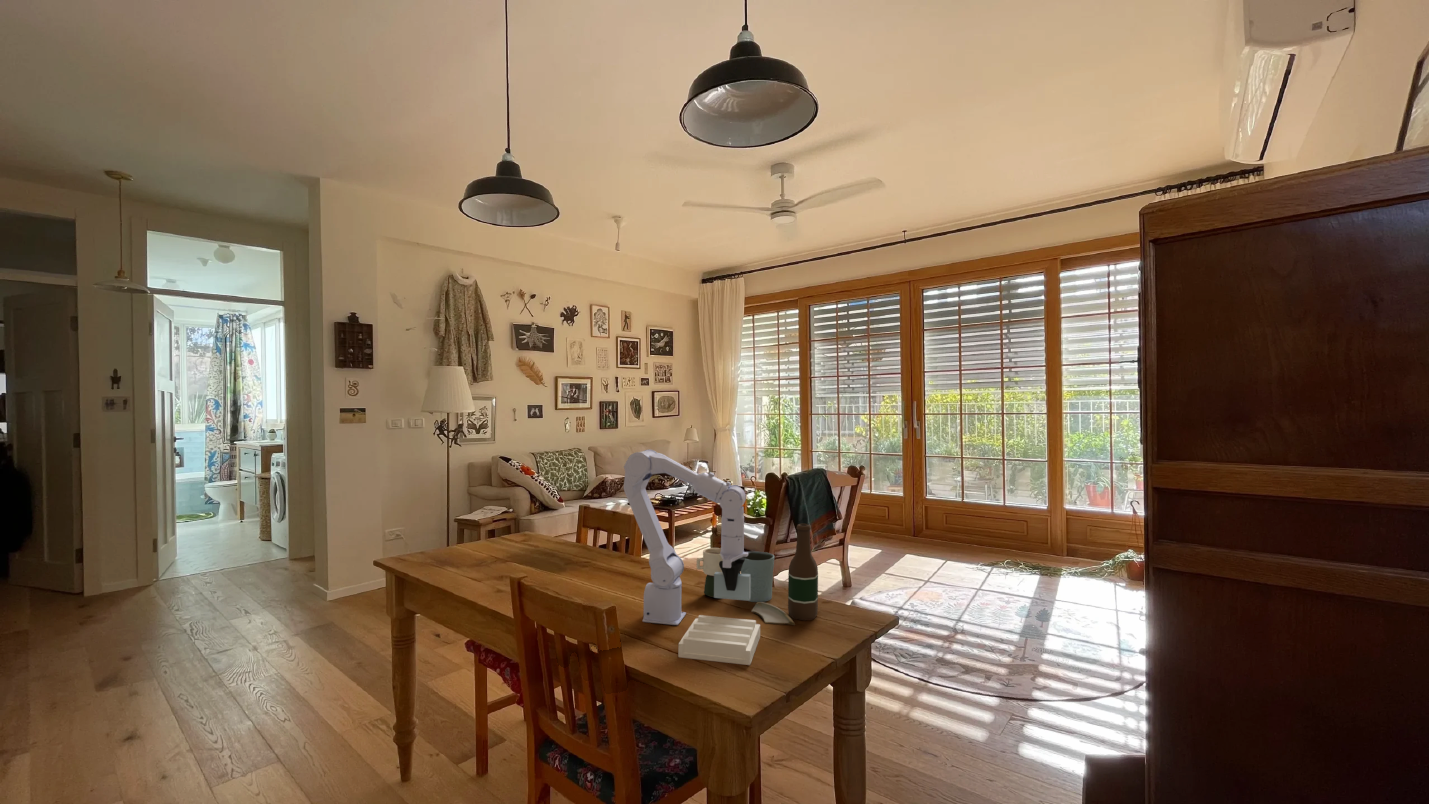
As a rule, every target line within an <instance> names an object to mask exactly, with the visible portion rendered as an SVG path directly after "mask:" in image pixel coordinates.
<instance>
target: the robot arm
mask: <svg viewBox="0 0 1429 804" xmlns="http://www.w3.org/2000/svg"><path fill="white" fill-rule="evenodd" d="M623 468H624V479H623V480H624V481H623V490H624V494H625V496H626V498H627V501H628V504H629V506H630V509H631V511H632V514H633V515H634V518H635V521H636V523H637V525H638V528H639V530H640V533H641V535H642V537H643V541H644V543H645V545H646V548H647V550H648V552H649V556H648V564H649V565H648V566H649V567H650V579H651V581H652V582H648V583H646V585H645V587H644V592H643V619H642V622H643V623H649V624H651V623H652V624H659V625H660V624H661V625H662V624H663V625H672V626H679V624H680V623H681V621H682V620H684V618H685V616H686V615H687V612H685V611H682V589H683V587H682V586H683V585H682V584H683V583H682V579H681V576H682V574H683V573H684V570H685V563H684V561H683V558H681V556H679V555H678V554H677V553H676V551H675V548H674V547H673V546H672V545H671V544H669V542H668V539H667V538H666V535H665V533H664V530H663V528H662V525H661V523H660V519H659V518H658V516H657V513H656V511H655V508H654V506H653V504H652V501H651V499H650V497H649V495H648V491H647V489H646V488H647V486H648V483H649V481H650V479H651V477H652V476H654V475H656V474H657V475H660V474H667V475H669V476H671V477H673V478H676V479H678V480H680V481H683V482H685V484H689V485H691V486H692V488H693V489H694V492H695V493H696V494H698V495H700V496H702V497H704V498H706V499H708V500H710V501H712V502H713V503H716V504H719V506H720V509H721V522H720V523H721V533H720V535H721V536H720V537H721V538H720V539H721V540H720V546H721V547H720V548H721V552H720V555H721V557H722V559H723V561H720V562H719V566H720V568H721V570H722V572H723V575H724V579H725V585H726V589H727V590H730V591H735V589H736V585H737V578H738V574H739V573H740V574H741V568H742V565H743V563H744V561H745V558H744V557H747V556H748V552H749V551H745V550H744V549H745V516H744V515H745V510H744V506H743V505H744V504H745V502H746V501H747V500H746V499H747V497H746V496H747V495H746V492H745V490H744V489H743V488H741V486H739V485H738V484H733V485H731V484H732V483H731V482H730V481H724V480H722V479H720V478H718V477H716V476H715V473H714V472H711V471H709V472H705V471H704V472H702V473H697V471H693V470H692V469H691V468H689V467H687V466H685V465H683V464H682V463H680V462H678V461H676V460H674V459H672V458H671V457H669V456H667V455H665V454H664V453H660V452H657V451H656V450H654V449H648V448H647V449H645V450H641V451H636V452H633V453H631V454H630V455H629V457H628V458H627V460H626V461H625V464H624V465H623Z"/></svg>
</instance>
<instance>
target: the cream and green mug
mask: <svg viewBox="0 0 1429 804" xmlns="http://www.w3.org/2000/svg"><path fill="white" fill-rule="evenodd" d="M720 552H721V547H720V548H719V547H709V548H705V549H704V550H703V551H702V557H697V558H696V569H697V570H702V572H703V573H704V574H705V575H706V576H705V582H704V588H703V589H704V590H703V594H704V595H705V596H708V597H712V598H714V574H715V572H722V570H721V568H720V566H719V562H720V561H723V559H722V557H721V555H720ZM701 562H702V565H701Z"/></svg>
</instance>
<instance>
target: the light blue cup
mask: <svg viewBox="0 0 1429 804" xmlns="http://www.w3.org/2000/svg"><path fill="white" fill-rule="evenodd" d="M747 552H748V556H747V557H744V558H745V561H744V563H743V565H742V568H741V571H740V574H751V598H750V600H749V601H748V602H751V603H758V602H764V603H767V602H770V601H771V599H772V598H773V580H774V579H773V576H774V567H775V555H774V554H773V553H770V552H767V551H765V552H764V551H747Z"/></svg>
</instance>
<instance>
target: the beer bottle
mask: <svg viewBox="0 0 1429 804" xmlns="http://www.w3.org/2000/svg"><path fill="white" fill-rule="evenodd" d="M795 529H796V530H797V534H796V547H795V553H794V556H793V557H792V559H791V560H790V564H789V566H788V573H787V574H788V576H787V578H788V581H787V583H788V584H787V585H788V586H787V589H788V591H787V599H788V601H787V603H788V604H787V610H788V611H787V612H788V616H789V617H790V618H792V619H793V620H800V621H812V620H815V618H816V617H817V615H818V610H819V607H818V605H819V603H818V601H819V571H818V570H819V569H818V567H819V566H818V565H817V564H818V563H817V562H816V560H815V558H814V557H813V554H812V548H811V532H810V531H811V529H812V528H811V525H810V524H807V523H799V524H797V525H796V528H795Z"/></svg>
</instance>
